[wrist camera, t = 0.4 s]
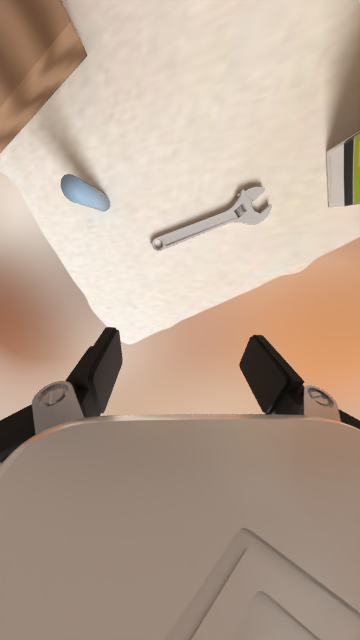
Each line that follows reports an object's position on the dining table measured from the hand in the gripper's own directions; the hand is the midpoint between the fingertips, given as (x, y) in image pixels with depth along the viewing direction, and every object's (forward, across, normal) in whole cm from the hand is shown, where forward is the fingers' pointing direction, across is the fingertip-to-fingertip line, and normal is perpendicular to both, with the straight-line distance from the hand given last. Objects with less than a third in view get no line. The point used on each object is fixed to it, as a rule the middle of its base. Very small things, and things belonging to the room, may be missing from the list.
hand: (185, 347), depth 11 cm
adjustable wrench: (+30, -6, -10) cm, 32 cm away
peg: (+29, +15, -11) cm, 35 cm away
